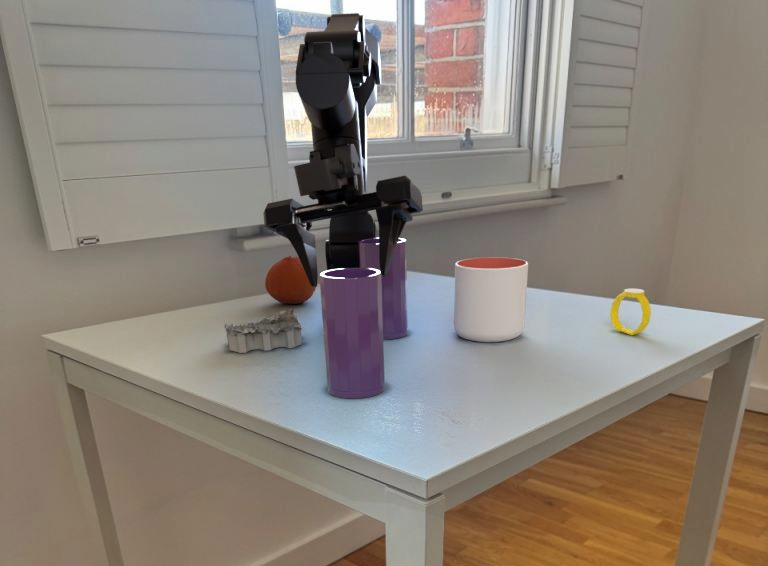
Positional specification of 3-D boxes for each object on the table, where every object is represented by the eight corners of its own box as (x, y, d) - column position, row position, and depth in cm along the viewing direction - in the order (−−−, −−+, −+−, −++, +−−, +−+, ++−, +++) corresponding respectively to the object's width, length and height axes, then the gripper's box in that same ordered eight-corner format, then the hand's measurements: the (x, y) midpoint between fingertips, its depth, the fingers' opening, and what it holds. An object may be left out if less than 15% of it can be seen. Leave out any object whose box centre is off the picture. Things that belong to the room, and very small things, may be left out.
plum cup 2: (353, 336, 103) (349, 242, 97) (378, 326, 108) (375, 236, 101) (391, 341, 99) (389, 245, 93) (415, 331, 104) (414, 238, 98)
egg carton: (299, 336, 104) (296, 308, 102) (304, 348, 98) (302, 319, 96) (226, 341, 102) (222, 313, 100) (227, 355, 96) (223, 324, 94)
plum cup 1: (316, 390, 81) (307, 274, 75) (356, 377, 85) (350, 265, 79) (356, 402, 77) (349, 280, 71) (396, 387, 81) (393, 271, 75)
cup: (522, 345, 96) (527, 269, 91) (449, 343, 98) (451, 268, 93) (524, 327, 104) (529, 257, 100) (457, 326, 106) (459, 257, 101)
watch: (604, 330, 101) (609, 288, 99) (617, 327, 103) (623, 285, 100) (637, 338, 97) (644, 294, 94) (651, 335, 98) (657, 292, 95)
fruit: (290, 296, 130) (286, 250, 126) (327, 300, 126) (323, 253, 122) (256, 305, 124) (251, 258, 120) (293, 310, 119) (289, 261, 116)
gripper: (233, 139, 79) (248, 281, 81) (390, 101, 73) (401, 255, 75) (278, 170, 89) (290, 295, 91) (418, 139, 83) (428, 274, 85)
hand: (348, 281), depth 85 cm, fingers open, 9 cm apart
